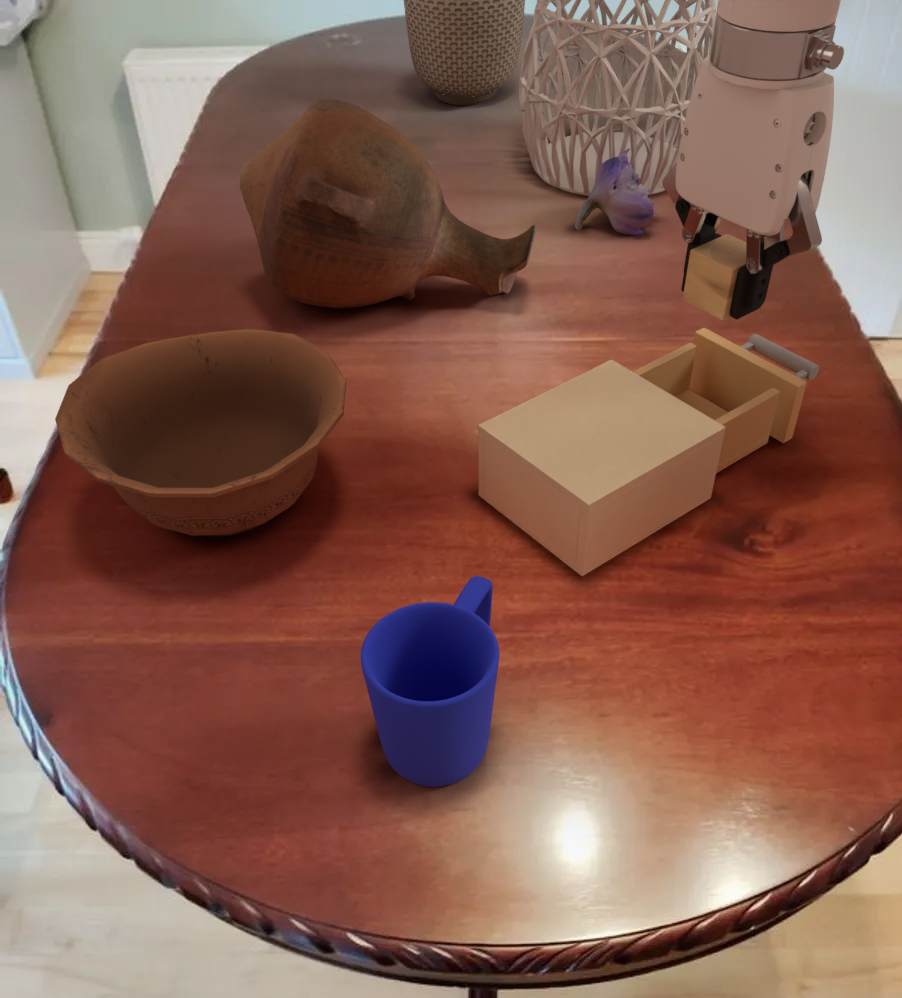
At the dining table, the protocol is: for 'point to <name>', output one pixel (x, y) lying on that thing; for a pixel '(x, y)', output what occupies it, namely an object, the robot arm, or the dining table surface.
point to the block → (714, 274)
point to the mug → (434, 685)
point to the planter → (464, 45)
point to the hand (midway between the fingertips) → (721, 297)
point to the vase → (608, 90)
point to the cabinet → (598, 463)
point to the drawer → (736, 388)
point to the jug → (362, 215)
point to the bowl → (205, 426)
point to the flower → (619, 197)
